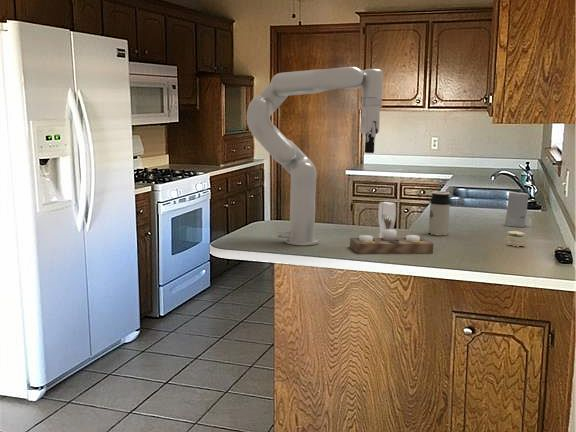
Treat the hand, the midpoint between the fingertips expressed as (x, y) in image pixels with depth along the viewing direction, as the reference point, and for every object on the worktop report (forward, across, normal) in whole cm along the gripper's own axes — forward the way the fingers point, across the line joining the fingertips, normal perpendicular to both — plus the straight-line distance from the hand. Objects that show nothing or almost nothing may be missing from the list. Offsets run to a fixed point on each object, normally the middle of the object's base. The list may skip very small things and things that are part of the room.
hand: (369, 152), depth 238 cm
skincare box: (+35, -44, +85) cm, 102 cm away
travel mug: (+35, -22, +38) cm, 56 cm away
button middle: (+32, +8, +7) cm, 34 cm away
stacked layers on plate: (+36, +2, +60) cm, 70 cm away
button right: (+34, +8, +16) cm, 39 cm away
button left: (+34, +8, -2) cm, 35 cm away
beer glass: (+35, -9, +11) cm, 38 cm away
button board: (+35, +10, +7) cm, 37 cm away
